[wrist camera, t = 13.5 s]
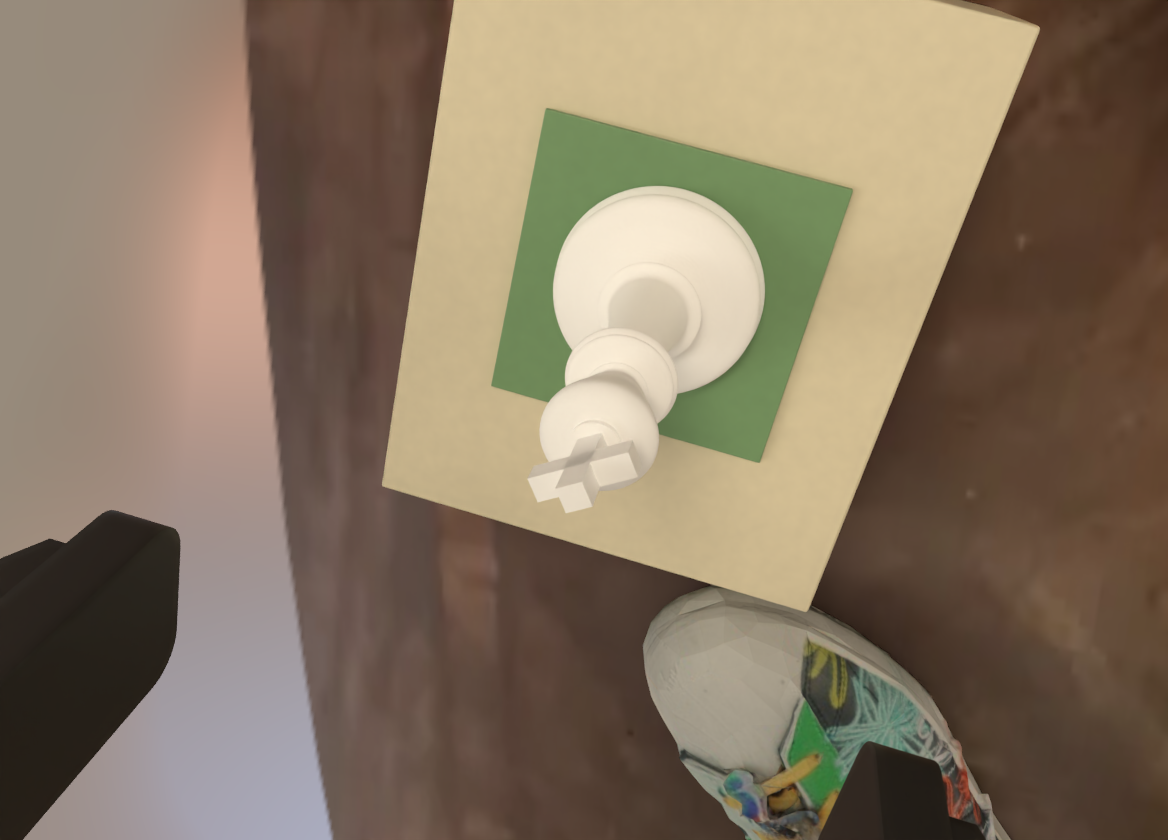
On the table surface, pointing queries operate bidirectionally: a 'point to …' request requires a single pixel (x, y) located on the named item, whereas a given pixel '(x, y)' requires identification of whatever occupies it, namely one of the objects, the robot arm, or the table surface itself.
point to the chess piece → (640, 331)
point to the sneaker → (789, 711)
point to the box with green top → (745, 190)
